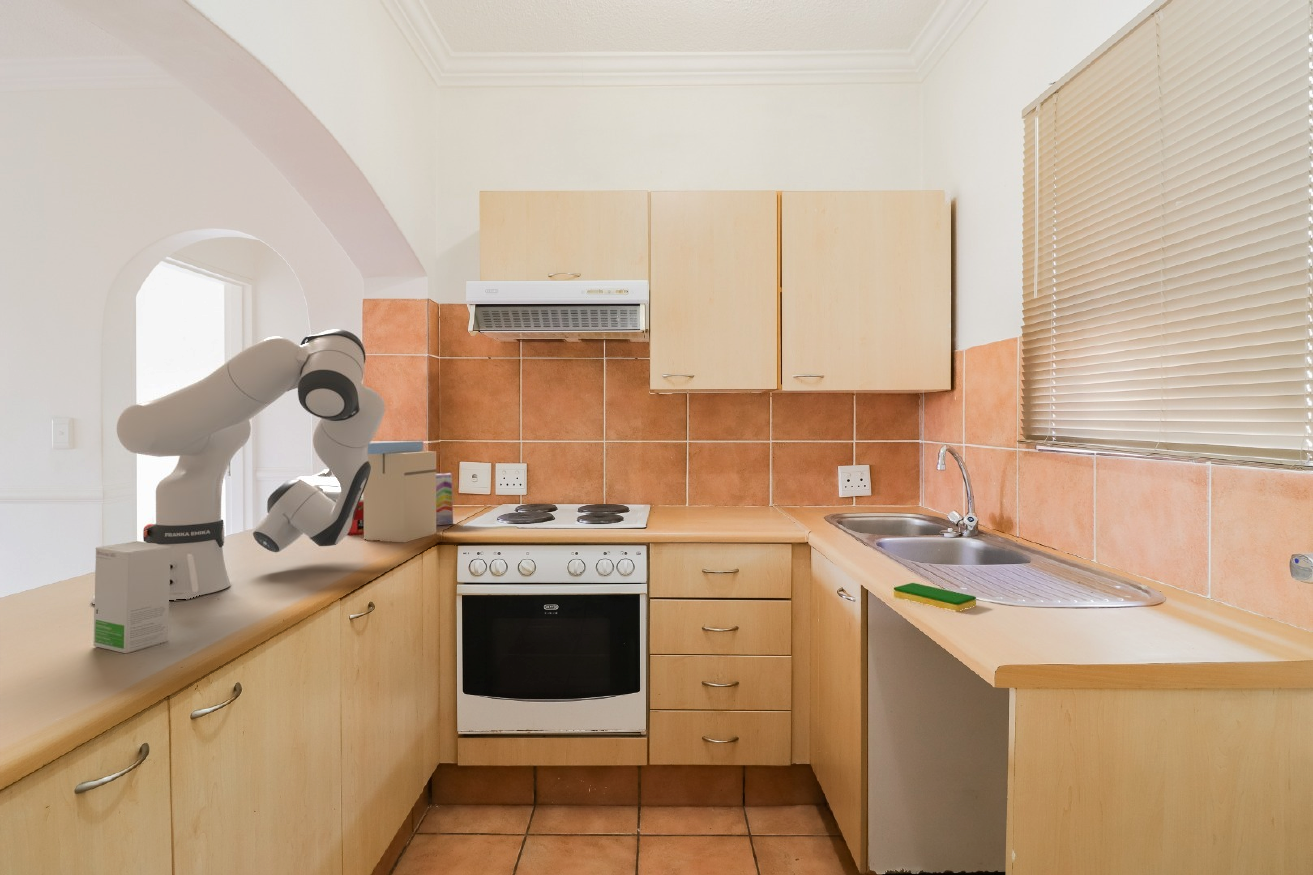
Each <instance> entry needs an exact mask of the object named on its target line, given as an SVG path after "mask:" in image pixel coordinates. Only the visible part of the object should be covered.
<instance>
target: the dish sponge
mask: <svg viewBox="0 0 1313 875" xmlns="http://www.w3.org/2000/svg"><path fill="white" fill-rule="evenodd" d="M893 598H896V599H899V600H904V599H908V600H912V601H916V602H920V603H923V604H922V605H924V604H929V605H933V606H936V607H935V608H937V607H939V608H938V609H941V608H947V609H951V610H955V611H960V610H962V609H965V608H970V607H973V606H975V605H976V606H977V597H976V596H975V595H969V594H966V593H961V592H958V591H957V592H956V591H953V590H952V591H951V590H949V589H948V590H947V589H942V588H938V587H934V586H929V585H924V584H921V583H915V582H910V583H906V584H902V585H899V586H895V587H893ZM908 600H907V601H908ZM912 601H911V602H912ZM916 602H915V603H916ZM920 603H919V604H920ZM929 605H928V606H929ZM933 606H932V607H933Z"/></svg>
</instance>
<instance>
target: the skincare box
mask: <svg viewBox="0 0 1313 875" xmlns="http://www.w3.org/2000/svg"><path fill="white" fill-rule="evenodd" d="M170 560H171V547H169V546H164V545H158V544H156V543H146V542H144V541H129V542H124V543H115V544H110V545H103V546H102V545H101V546H97V547H95V569H94V571H95V575H94V594H95V605H94V604H93V605H94V608H93V611H94V612H93V614H94V615H93V646H94V647H98V648H100V649H105V650H110V651H114V652H118V653H122V654H123V653H124V654H129V653H133V652H136V651H140V650H144V649H147V648H150V647H153V646H157V645H161V644H164V643H163V642H165V643H167V642H169V621H170V618H169V617H170V601H169V592H170ZM160 643H161V644H160Z"/></svg>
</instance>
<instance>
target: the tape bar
mask: <svg viewBox="0 0 1313 875" xmlns="http://www.w3.org/2000/svg"><path fill="white" fill-rule="evenodd" d="M413 451H424V441H422V440H421V441H420V440H415V441H413V440H412V441H411V440H409V441H388V442H387V441H385V442H382V441H381V442H380V441H379V442H370V443H369V446H368V452H367V454H382V453H397V452H413Z"/></svg>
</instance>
